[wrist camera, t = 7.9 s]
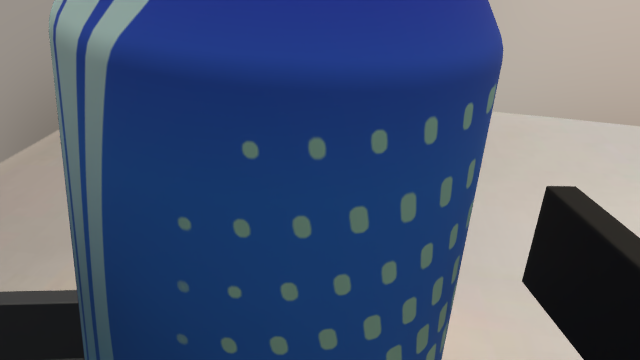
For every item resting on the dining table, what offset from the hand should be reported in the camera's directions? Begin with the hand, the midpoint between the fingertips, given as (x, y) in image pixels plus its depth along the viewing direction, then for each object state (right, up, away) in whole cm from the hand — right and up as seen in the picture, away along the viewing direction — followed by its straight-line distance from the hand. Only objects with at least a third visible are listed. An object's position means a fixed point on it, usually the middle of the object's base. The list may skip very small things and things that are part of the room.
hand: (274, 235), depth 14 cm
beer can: (-1, -8, +4) cm, 9 cm away
